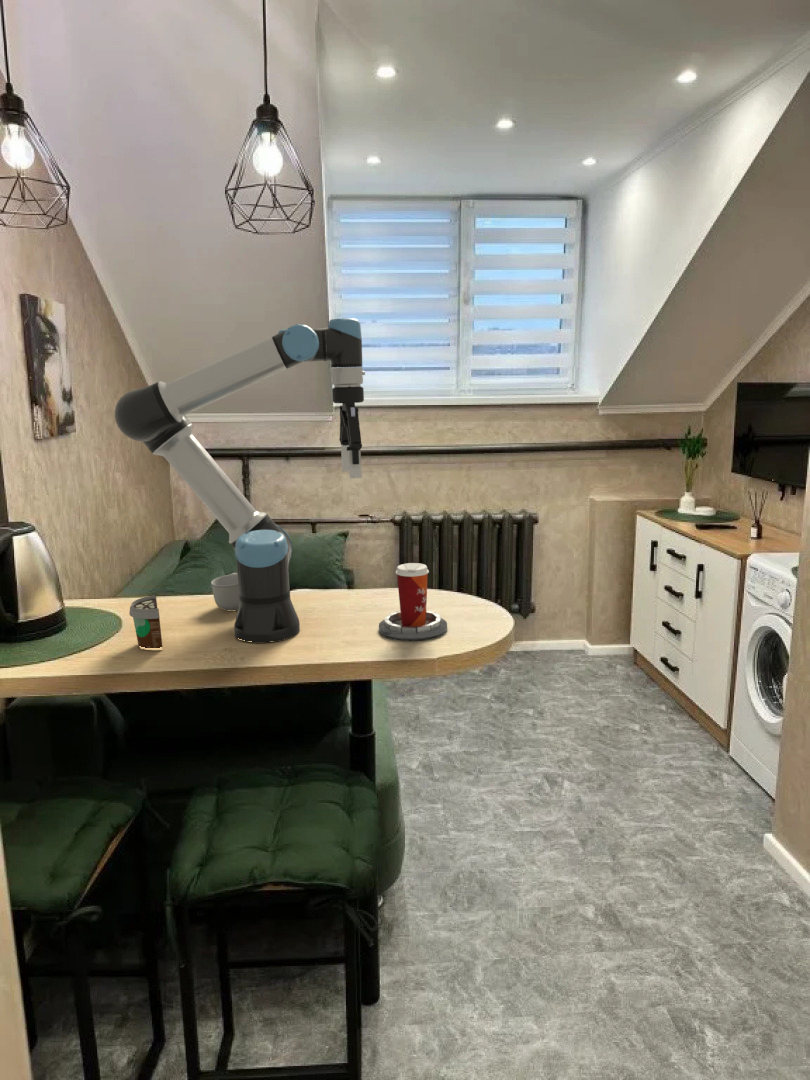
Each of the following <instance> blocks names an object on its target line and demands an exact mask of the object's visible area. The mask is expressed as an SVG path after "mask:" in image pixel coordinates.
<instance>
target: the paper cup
mask: <svg viewBox="0 0 810 1080" xmlns="http://www.w3.org/2000/svg"><path fill="white" fill-rule="evenodd" d="M429 573H430V571H429V569H428V566H427V565H426V564H424V563H420V562H419V563H418V562H408V563H403V564H399V565H398V566H397V567H396V570H395V575H397V576H396V577H397V589H398V600H399V609H400V610H399V611H400V612H401V622H402V626H421V625H425V624H426V611H427V606H428V605H427V599H428V598H427V597H428V574H429Z"/></svg>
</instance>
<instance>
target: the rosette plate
mask: <svg viewBox="0 0 810 1080" xmlns="http://www.w3.org/2000/svg"><path fill="white" fill-rule="evenodd" d="M447 631H448V622H447V620H445V619H444V618H443V617H442V615H440V614H438V613H436V612H435V611H430V610H426V624H425V625H421V626H402V622H401V612H400V610H399V611H394V612H392V613H389V614H388V615H387V614H386V615H385V618H384V619H383V620H381V621H380V622H379V623H378V633H379V634H380V635H381V636H382V637H384V638H387V639H390V640H393V641H400V642H421V641H423V642H424V641H429V640H433V639H436V638H440V637H442V636H443V635H445V634H446V633H447ZM445 632H446V633H445ZM444 633H445V634H444ZM441 635H442V636H441Z"/></svg>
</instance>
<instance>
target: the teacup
mask: <svg viewBox="0 0 810 1080" xmlns="http://www.w3.org/2000/svg"><path fill="white" fill-rule="evenodd" d="M210 584H211V587H212V594H213V599H214V602H215V604H216V605H217V606H218V608H220V609H222V610H223V609H225V610H224V611H226V610H237V609H238V608H239V604H240V598H239V586H238V574H237V572H232V573H231V574H225V575H222V576H218V577H216V578H214V579H212V580H211V582H210ZM237 611H238V610H237Z"/></svg>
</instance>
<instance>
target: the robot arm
mask: <svg viewBox="0 0 810 1080" xmlns="http://www.w3.org/2000/svg"><path fill="white" fill-rule="evenodd" d="M361 327H362V326H361V322H360V321H359V320H358V319H357V318H345V317H343V318H333V319H330V320H329V321H328V326H327V327H324V328H323V327H322V328H312V327H311V326H309V325H307V324H304V323H299V324H298V323H296V324H293V325H291V326H290V327H288V328H286V329H285V328H284V329H280V330H278V333H277V334H275V335H273V336H270V337H267V338H266V339H263V340H261V341H258V342H256V343H254V344H252V345H250V346H246V348H243V349H241V350H239V351H237V352H234V353H232V354H229V355H227V356H225V357H223V358H221V359H219V360H217V361H214V362H212V363H210V364H207V365H205V366H202V367H200V368H198V369H195V370H194V371H192V372H190V373H187V374H185V375H182V376H180V377H179V378H175V379H173V380H171V381H168V382H164V381H162V380H159V381H157V382H155V383H152V384H150V385H148V386H144V387H142V388H137V389H132V390H130V391H129V390H128V392H125V393H124V394H123V395H122V396H121V397H120V398H119V400H118V401H117V403H116V405H115V410H114V420H115V424H116V425H117V427H118V429H119V430H120V431H121V433H122V434H123V435H125V436H126V438H129V439H131V440H133V441H137V442H142V443H143V445H144V446H146V449H148V450H149V451H150V452H151V454H153V455H154V456H162V457H164V459H165V460H166V461H167V462H168V463H169V465H170V466H171V467H172V468H173V469H174V471H176V473H177V474H178V475H179V477H181V479H182V480H183V481H184V482H185V483H186V484H187V486H188V487H189V488H190V489H191V490H192V492H193V493H194V494H195V495H196V497H198V499H199V500H200V501H201V502H202V503H203V505H205V507H206V508H207V509H208V510H209V512H210V513H211V514H212V515H213V517H215V518H216V520H217V521H218V522H219V523H220V524H221V526H222V527H223V528H224V529H225V530H226V531H227V533H228V534H229V535H228V537H229V538H228V543H229V544H230V546H231V547H232V548H233V549H234V555H235V558H236V559H235V560H236V573H237V574H238V586H239V598H240V604H239V608H238V610H237V612H236V618H235V621H234V626H233V630H234V631H233V632H234V637H235V636H236V637H237V638H239V639H242V640H245V641H252V642H269V643H271V642H270V641H276V642H280V641H279V640H281V641H284V639H285V640H287V639H290V638H292V637H295V636H296V635H297V634H299V633H300V631H301V629H300V628H301V626H300V619H299V617H298V614H297V612H296V609H295V607H294V605H293V602H292V600H291V590H290V589H291V588H290V574H289V573H290V572H289V570H290V569H289V565H290V560H291V559H292V555H293V544H292V543H293V542H292V540H291V537H290V535H289V534H288V532H287V531H286V530H285V529H284V528H283V527H281V526H279V525H277V523H275V521H273V520H272V518H271V517H270V516H269V515H268V514H267V512H266V511H265V512H263V511H258V510H257V509H255V508H254V506H253V505H252V504H251V502H250V501H249V500H248V499H247V497H245V495H244V494H243V493H242V492H241V490H240V489H239V488H238V487H237V486H236V484H235V483H234V482H233V481H232V480H231V479H230V478H229V476H228V475H227V474H226V473H225V472H224V470H223V469H222V468H221V467H220V466H219V464H218V463H217V462H216V461H215V459H214V458H213V457H212V455H210V453H209V452H208V451H207V450H206V449H205V447H204V446H203V445H202V444H201V443H200V442H199V440H198V439H197V438H196V437H195V435H194V434H193V423H192V422H191V421H190V420H189V418H188V417H187V415H188V414H190V413H193V412H194V411H197V410H199V409H201V408H203V407H205V406H208V405H210V404H212V403H215V402H217V401H219V400H222V399H223V398H226V397H228V396H230V395H232V394H234V393H236V392H238V391H241V390H243V389H245V388H247V387H251V386H252V385H254V384H256V383H258V382H259V383H260V382H261V381H263V380H265V379H268V378H269V377H272V376H275V375H277V374H279V373H280V372H283V371H285V370H287V369H289V368H290V369H291V368H292V367H295V366H297V365H299V364H301V363H303V362H329V361H330V378H331V379H330V380H331V385H333V387H332V388H331V397H332V403H334V404H341V405H339V442H340V449H341V450H340V451H341V453H340V454H341V456H340V457H341V471H342V472H343V473H344V472H349V479H362V459H361V458H362V456H361V455H362V453H361V449H362V448H363V444H362V438H361V435H362V434H361V427H360V420H359V419H360V418H359V407H357V406H356V405H355V404H356V403H363V402H364V401H365V394H364V391H365V389H364V387H363V386H361V385H363V383H364V377H363V376H365V375H366V371H365V370H363V343H362V342H363V341H362V339H363V338H362V328H361ZM236 637H235V638H236ZM237 638H236V639H237Z"/></svg>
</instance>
